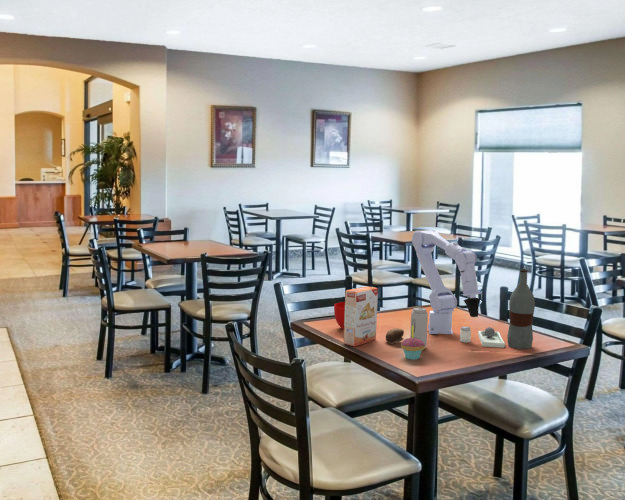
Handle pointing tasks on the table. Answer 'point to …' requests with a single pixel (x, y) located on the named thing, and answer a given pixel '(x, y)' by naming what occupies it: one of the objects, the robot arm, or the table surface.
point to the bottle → (521, 315)
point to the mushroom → (394, 335)
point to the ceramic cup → (340, 313)
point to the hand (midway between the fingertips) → (474, 316)
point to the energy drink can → (419, 324)
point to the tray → (491, 340)
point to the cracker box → (360, 315)
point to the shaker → (465, 334)
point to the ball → (489, 332)
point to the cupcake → (412, 346)
